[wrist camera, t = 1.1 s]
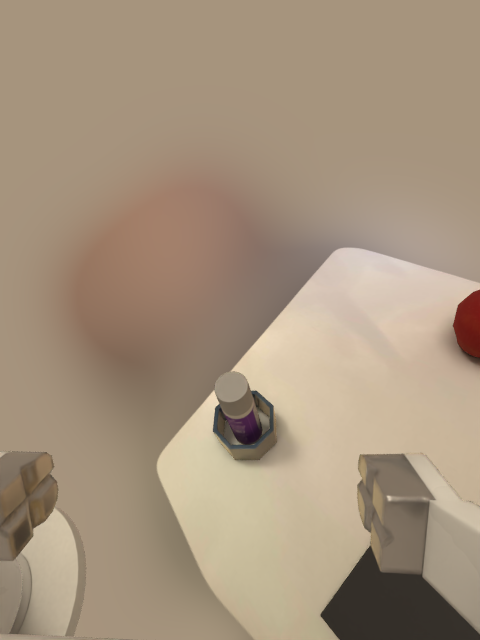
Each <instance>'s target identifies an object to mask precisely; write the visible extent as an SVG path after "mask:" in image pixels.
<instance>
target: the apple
mask: <svg viewBox="0 0 480 640" xmlns="http://www.w3.org/2000/svg"><path fill="white" fill-rule="evenodd" d="M453 327H454V330H455V334H456V337H457V342H458V344H459V346H460V347H461V348H462V349H463V350H464V351H465V352H467V353H468V354H470V355H472V356H475V357H478V358H480V290H478V291H475V292H473V293H472V294H470V295H469V296H468V297H467V298H465V299H464V300H463V301H462V302H461V303H460V304H459V305H458V308H457V312H456V316H455V320H454V324H453Z"/></svg>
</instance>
